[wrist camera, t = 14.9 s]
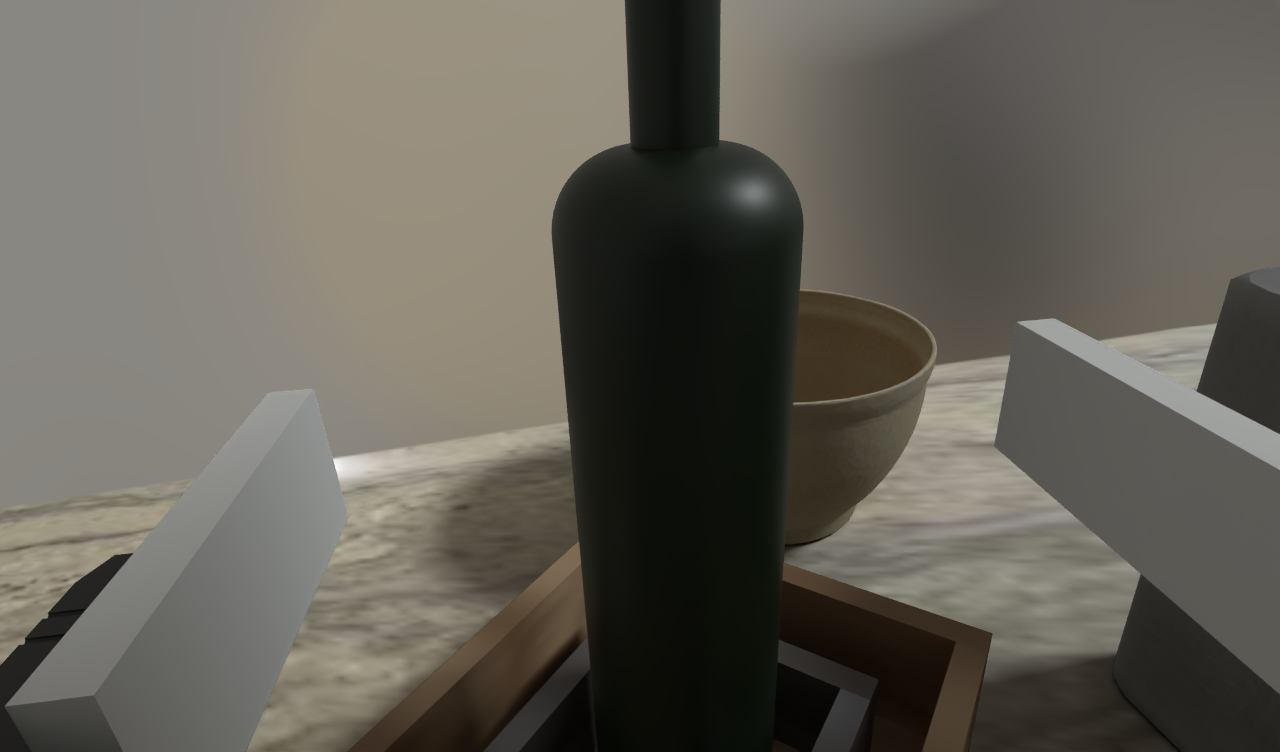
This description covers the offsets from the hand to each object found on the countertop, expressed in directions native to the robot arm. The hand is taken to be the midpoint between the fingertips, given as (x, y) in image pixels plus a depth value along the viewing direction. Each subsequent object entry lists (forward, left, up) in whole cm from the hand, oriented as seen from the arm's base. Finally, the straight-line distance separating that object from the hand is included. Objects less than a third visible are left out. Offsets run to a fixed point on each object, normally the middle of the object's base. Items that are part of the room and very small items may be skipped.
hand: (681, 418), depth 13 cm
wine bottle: (-4, -3, -18) cm, 18 cm away
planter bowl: (-24, -8, -19) cm, 31 cm away
